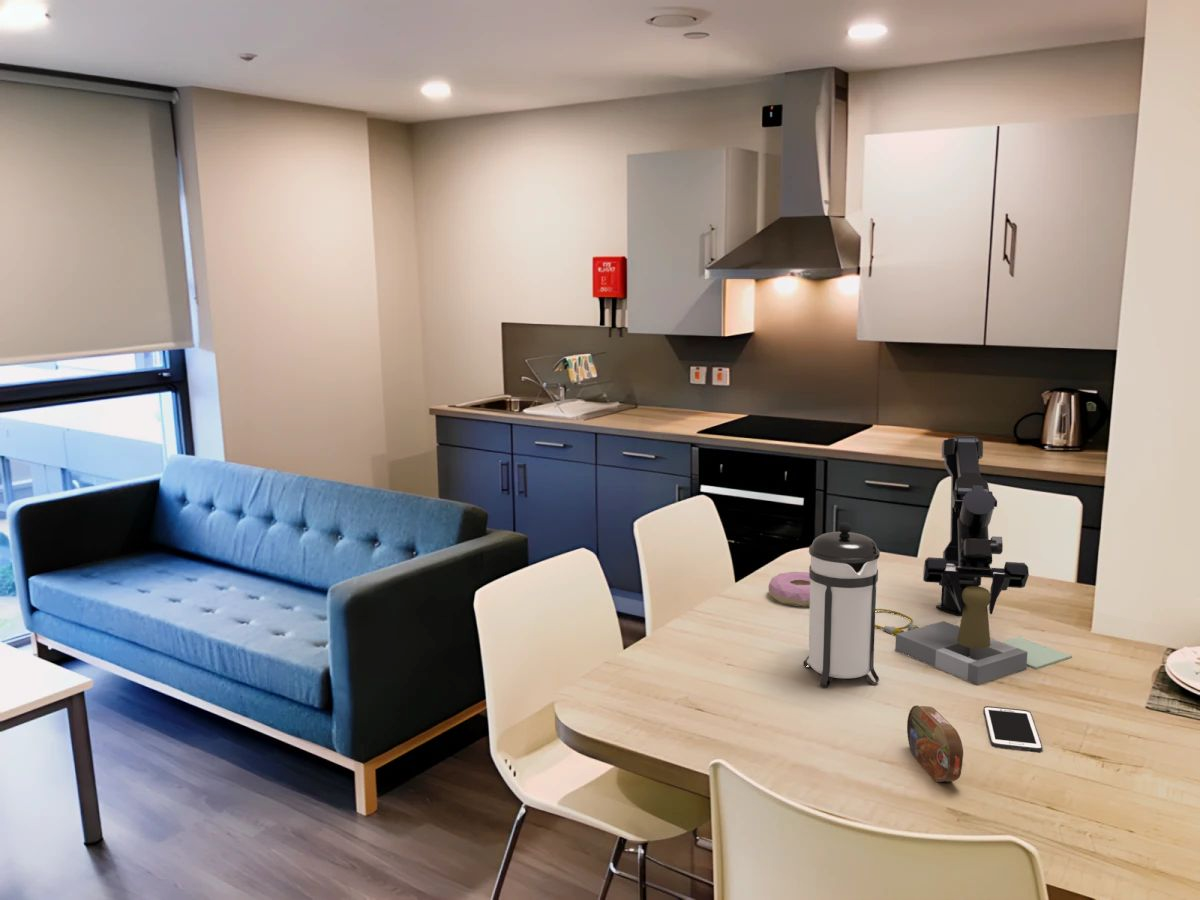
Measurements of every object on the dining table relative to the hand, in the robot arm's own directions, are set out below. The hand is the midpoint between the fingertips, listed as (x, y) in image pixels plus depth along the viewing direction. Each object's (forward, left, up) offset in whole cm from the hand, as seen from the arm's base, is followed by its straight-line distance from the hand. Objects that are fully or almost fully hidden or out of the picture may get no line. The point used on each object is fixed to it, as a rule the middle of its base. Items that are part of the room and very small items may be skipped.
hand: (976, 612), depth 185 cm
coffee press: (-13, -23, -12) cm, 29 cm away
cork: (-1, +1, -7) cm, 7 cm away
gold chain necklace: (-27, +5, -12) cm, 30 cm away
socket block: (-5, +2, -12) cm, 13 cm away
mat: (0, +16, -12) cm, 20 cm away
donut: (-50, +1, -12) cm, 51 cm away
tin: (+22, -36, -12) cm, 44 cm away
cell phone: (+20, -15, -12) cm, 28 cm away
